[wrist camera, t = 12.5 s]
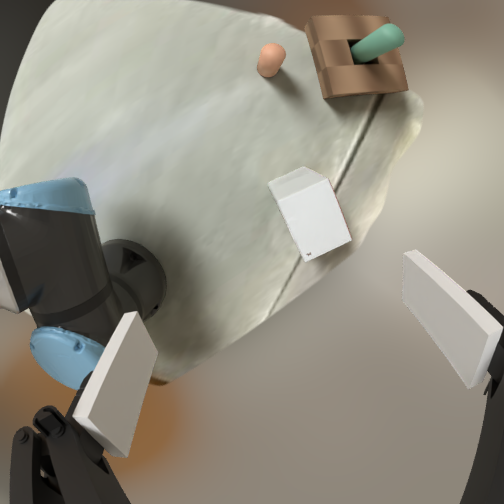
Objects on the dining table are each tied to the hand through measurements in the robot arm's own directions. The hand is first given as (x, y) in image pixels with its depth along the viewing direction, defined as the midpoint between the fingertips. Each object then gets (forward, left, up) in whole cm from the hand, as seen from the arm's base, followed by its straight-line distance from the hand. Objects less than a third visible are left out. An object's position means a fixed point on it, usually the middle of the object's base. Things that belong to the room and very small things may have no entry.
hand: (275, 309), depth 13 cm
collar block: (+19, +17, -32) cm, 41 cm away
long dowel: (+19, +17, -32) cm, 41 cm away
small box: (+6, -3, -32) cm, 33 cm away
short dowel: (+6, +17, -32) cm, 36 cm away
